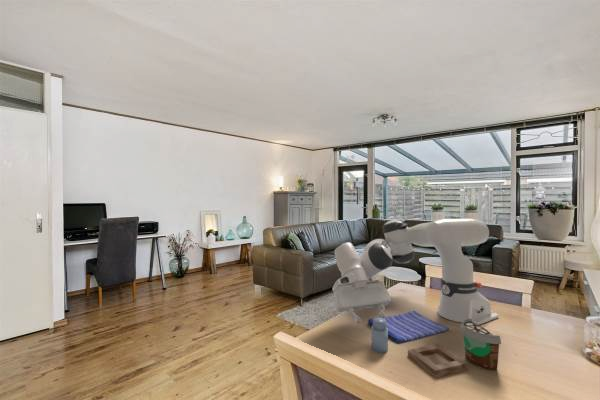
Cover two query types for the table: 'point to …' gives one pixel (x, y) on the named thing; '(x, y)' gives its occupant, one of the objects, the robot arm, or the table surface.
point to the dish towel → (410, 327)
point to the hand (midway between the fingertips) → (370, 320)
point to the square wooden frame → (437, 360)
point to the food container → (480, 345)
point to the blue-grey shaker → (379, 335)
